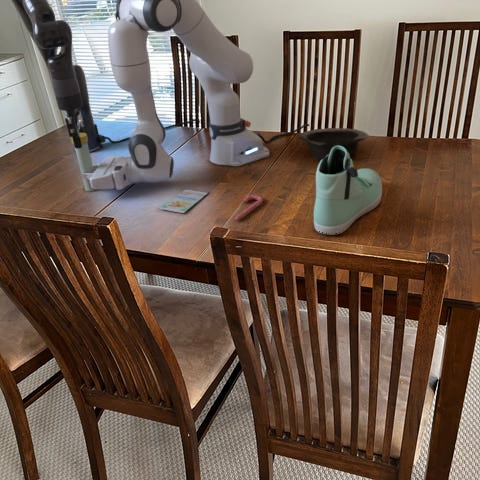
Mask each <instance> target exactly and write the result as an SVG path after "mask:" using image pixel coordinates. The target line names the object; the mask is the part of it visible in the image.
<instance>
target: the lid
mask: <svg viewBox="0 0 480 480" xmlns="http://www.w3.org/2000/svg"><path fill="white" fill-rule="evenodd" d="M79 134H80V139H81V143H82V144H84V143H86V142H88V138H87V134H86V133H79ZM70 141H71V143H72V145H74V142H73V139H72V137H70Z"/></svg>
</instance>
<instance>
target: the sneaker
mask: <svg viewBox="0 0 480 480" xmlns="http://www.w3.org/2000/svg"><path fill="white" fill-rule="evenodd" d="M317 165H318V166H317V168H316V172H315V201H314V207H313V225H314V229H315V231H316V232H318V233H320V234H323V235H326V236H327V235H328V236H336V235H339V234H342V233H344V232H345V231H347V230H348V229H349V228H350V227H351V226H352V225H353V224H354V222H356V221H357V220H358V219H359V218H360V217H362V216H363V215H365V214H367V213H370V212H372V210H374V209H375V208H377V207H378V205H380V203H381V200H382V196H383V184H382V183H383V182H382V179H381V176H380V175H379V173H378V172H377V171H376V170H374V169H372V168H367V167H365V168H358V169H357V168H355V167H354V161H353V159H352V158H351V156H349V153H348V152H347V150H346V149H345V148H344V147H342V146H334V147H333V148H332V149H331V152H330V154H329V155H327V156H326V157H325V158H324V159H322V160H321V161H319V163H318V164H317ZM343 230H344V231H343ZM319 231H320V232H319ZM322 232H323V233H322ZM339 232H340V233H339ZM326 233H327V234H326ZM328 233H329V234H328ZM335 233H337V234H335Z"/></svg>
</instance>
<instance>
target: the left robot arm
mask: <svg viewBox="0 0 480 480" xmlns="http://www.w3.org/2000/svg"><path fill="white" fill-rule="evenodd" d="M10 1H11V3H12V4H13V6H14V7H15V9H16V11H17V13H18V15H19V17H20V19H21V21H22V23H23V24H24V27H25V28H26V30H27V32H28V34H29V36H30V38H31V39H32V41H33V42H34V44H35V46H36V48H37V50H38V52H39V53H40V55H41V57H42V59H43V62H44V63H45V65H46V68H47V70H48V72H49V74H50V78H51V83H52V89H53V92H54V96H55V100H56V104H57V107H58V110H60V111H65V112H66V115H65V118H64V121H65V125H66V128H67V132H68V136H69V138H71V137H72V139H73V142H74V144H73V146H74V149H75V148H81V147H82V143H81V139H80V134H79V133H86V134H87V138H88V142H87V144H88V148H89V152H90V153H92V152H96V151H97V150H99V149H100V148H102V144H103V143H106V141H107V140H108V141H109V142H110V143H111V144H118V143H122V142H126V141H129V140H130V138H131V136H128V137H125V138H122V139H120V140H112V139H111V138H110V137H109V136H105V135H103V134H100V133H99V129H98V125H97V123H95V121H94V116H93V113H92V108H91V104H90V95H89V90H88V84H87V79H86V74H85V72H84V69H83V67H82V66H81V65H79V64H74V63H73V31H72V28H71V26H70V24H69V23H67V21H65V20H63V19H58V20H56V14H55V11H54V10H53V8H52V6H51V5H50V3H49V2H48V0H10ZM59 48H60V50H59V53H58V49H59ZM193 122H197V123H201V120H199V119H197V118H193V119H190V120H188V121H183V122H180V123H175V124H172V125H167V126H165V127H164V129H165V130H167V129H171V128H174V127H179V126H183V125H188V124H191V123H193Z"/></svg>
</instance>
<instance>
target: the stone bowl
mask: <svg viewBox="0 0 480 480" xmlns="http://www.w3.org/2000/svg"><path fill="white" fill-rule="evenodd" d="M368 138H370V134H368V133H367V132H365V131H363V130H360V129H357V128H356V129H355V128H348V127H347V128H345V127H344V128H343V127H340V128H339V127H327V128H315V129H311V130H307V131H306V130H305V131H303V132H301V133H299V136H298V139H299V140H301V141H304V142H306V143H307V148H308V151H309V152H310V153H311V154H312V155H313V156H315V159H316V161H318V162H320V161H321V160H322V159H324V158H325V157H326V156H327V155H329V154H330V152H331V149H332V148H333V147H334V146H342V147H344V148H345V149H346V150H347V152H348V153H349V156H350V157H354V156H355V155H357V150H358V146H359V145H358V143H359V142H362V141H364V140H366V139H368Z"/></svg>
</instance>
